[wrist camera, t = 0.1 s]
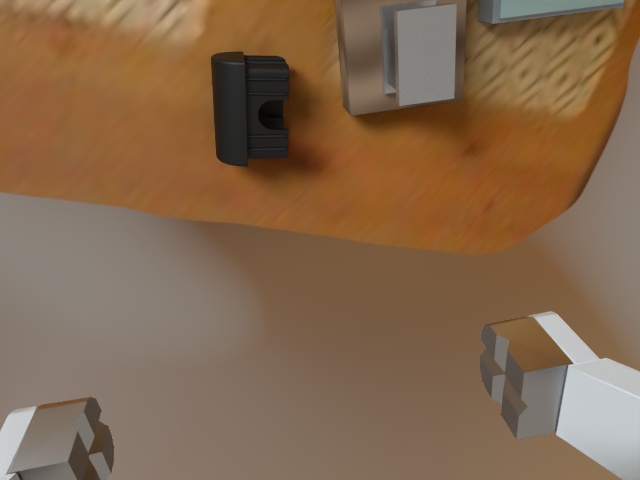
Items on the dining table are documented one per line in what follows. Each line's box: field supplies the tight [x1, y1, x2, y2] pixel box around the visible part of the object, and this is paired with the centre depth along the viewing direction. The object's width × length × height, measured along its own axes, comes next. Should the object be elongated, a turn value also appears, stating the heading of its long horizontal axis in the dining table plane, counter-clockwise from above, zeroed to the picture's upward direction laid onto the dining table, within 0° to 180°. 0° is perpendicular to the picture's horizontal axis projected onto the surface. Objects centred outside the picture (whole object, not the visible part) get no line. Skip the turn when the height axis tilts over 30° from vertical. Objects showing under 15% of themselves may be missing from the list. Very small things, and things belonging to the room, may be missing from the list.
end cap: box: [211, 52, 289, 166], centre depth 52 cm, size 10×7×7 cm
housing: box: [379, 0, 457, 106], centre depth 49 cm, size 8×5×6 cm, turn 6°
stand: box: [335, 0, 467, 116], centre depth 53 cm, size 12×12×4 cm
